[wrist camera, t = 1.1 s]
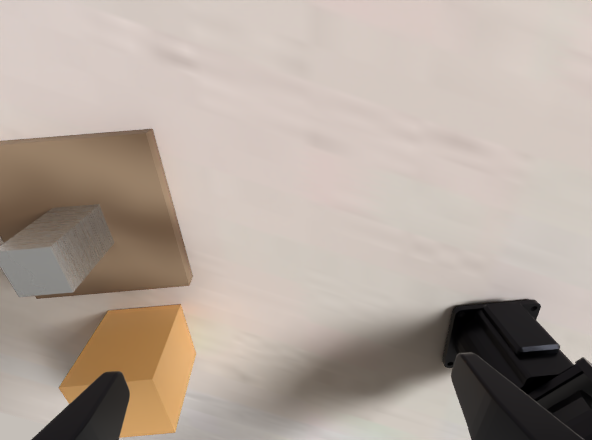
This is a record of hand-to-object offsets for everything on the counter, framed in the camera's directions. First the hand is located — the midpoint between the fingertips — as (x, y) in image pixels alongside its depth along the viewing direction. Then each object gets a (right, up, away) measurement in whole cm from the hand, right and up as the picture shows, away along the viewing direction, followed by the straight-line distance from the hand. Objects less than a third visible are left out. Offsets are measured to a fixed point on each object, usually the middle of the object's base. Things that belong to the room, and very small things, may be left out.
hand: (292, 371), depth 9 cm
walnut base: (-12, +4, +11) cm, 17 cm away
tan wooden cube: (-11, -5, +16) cm, 20 cm away
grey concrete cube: (-12, +4, +11) cm, 17 cm away
